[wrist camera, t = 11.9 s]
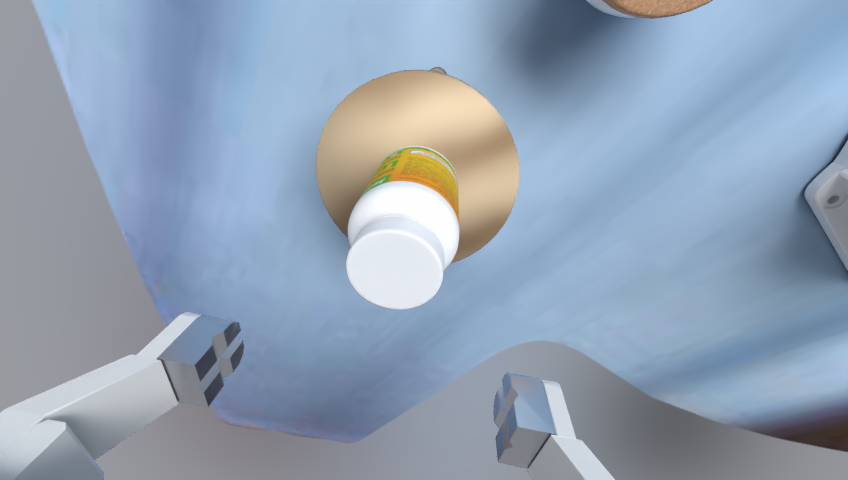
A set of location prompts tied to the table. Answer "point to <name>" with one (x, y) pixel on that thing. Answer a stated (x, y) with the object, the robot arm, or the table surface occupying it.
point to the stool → (429, 127)
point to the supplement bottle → (404, 229)
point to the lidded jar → (646, 7)
